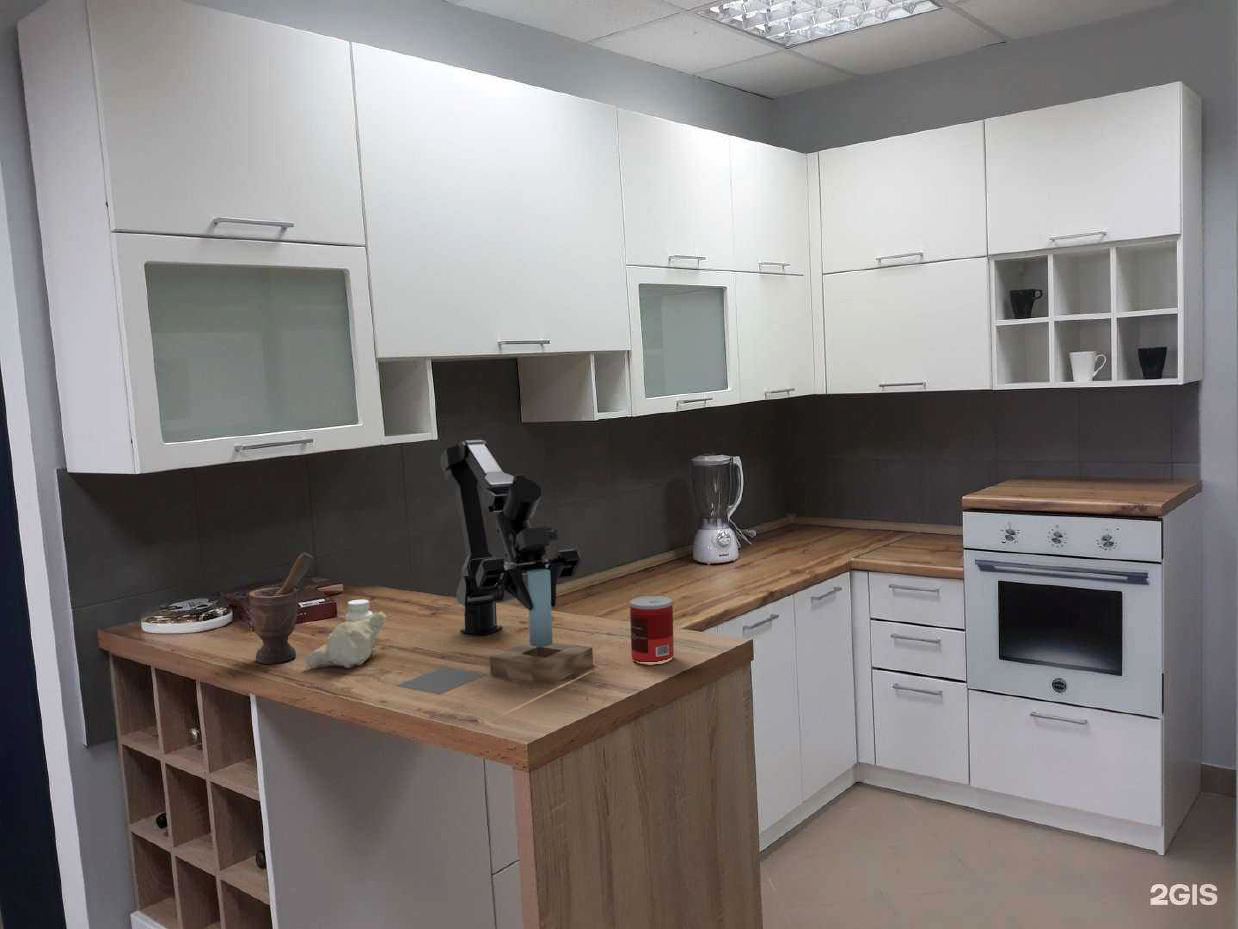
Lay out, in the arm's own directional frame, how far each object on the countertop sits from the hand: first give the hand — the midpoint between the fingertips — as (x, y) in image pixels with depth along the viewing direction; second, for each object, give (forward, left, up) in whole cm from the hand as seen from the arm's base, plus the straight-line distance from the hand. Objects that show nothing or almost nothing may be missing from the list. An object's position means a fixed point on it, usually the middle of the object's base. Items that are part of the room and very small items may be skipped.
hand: (542, 607), depth 175 cm
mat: (+12, -13, -12) cm, 22 cm away
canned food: (-16, +13, -12) cm, 24 cm away
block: (-1, -1, -12) cm, 12 cm away
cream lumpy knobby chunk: (+10, -37, -12) cm, 40 cm away
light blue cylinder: (-1, -1, -7) cm, 7 cm away
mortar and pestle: (+14, -51, -12) cm, 54 cm away
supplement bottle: (+4, -41, -12) cm, 43 cm away
